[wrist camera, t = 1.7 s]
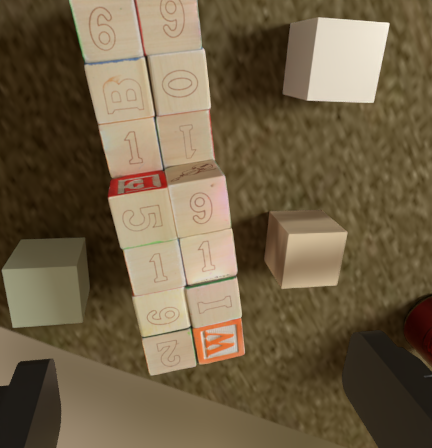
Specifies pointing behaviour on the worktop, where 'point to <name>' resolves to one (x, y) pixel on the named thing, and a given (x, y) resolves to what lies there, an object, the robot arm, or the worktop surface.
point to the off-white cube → (334, 59)
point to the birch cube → (304, 248)
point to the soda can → (420, 329)
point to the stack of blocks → (164, 176)
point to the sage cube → (47, 282)
